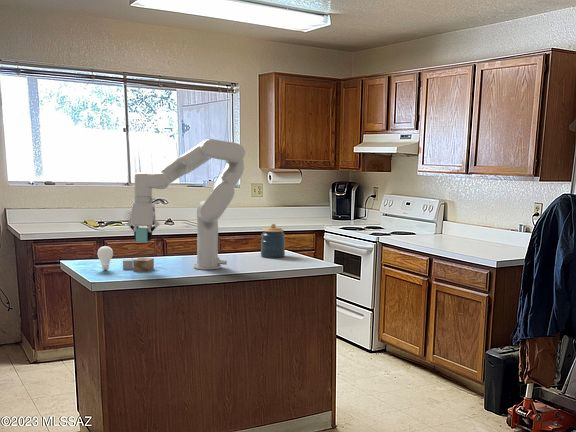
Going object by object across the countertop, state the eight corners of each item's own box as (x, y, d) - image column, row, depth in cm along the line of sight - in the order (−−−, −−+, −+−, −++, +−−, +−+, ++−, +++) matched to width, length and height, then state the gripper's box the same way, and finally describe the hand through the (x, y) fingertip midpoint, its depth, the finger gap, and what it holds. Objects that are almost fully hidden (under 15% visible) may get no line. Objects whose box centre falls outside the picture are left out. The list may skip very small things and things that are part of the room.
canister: (269, 259, 273) (270, 225, 272) (255, 255, 283) (256, 223, 282) (289, 257, 281) (290, 224, 279) (275, 253, 291) (276, 222, 290)
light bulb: (94, 270, 234) (94, 245, 233) (109, 268, 239) (108, 244, 238) (101, 272, 230) (101, 247, 229) (116, 270, 234) (115, 246, 233)
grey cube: (132, 267, 243) (132, 259, 242) (132, 269, 239) (132, 260, 239) (123, 267, 242) (123, 259, 242) (122, 269, 238) (122, 260, 238)
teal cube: (150, 241, 239) (150, 228, 239) (146, 242, 234) (146, 229, 234) (139, 240, 239) (139, 227, 239) (135, 242, 234) (135, 228, 234)
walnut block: (153, 269, 241) (153, 258, 241) (148, 271, 234) (148, 260, 234) (138, 268, 242) (138, 257, 241) (133, 271, 235) (133, 260, 234)
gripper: (164, 200, 238) (164, 240, 240) (127, 199, 239) (127, 238, 241) (159, 201, 231) (159, 242, 232) (121, 200, 232) (121, 241, 234)
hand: (143, 240), depth 237 cm, fingers closed on teal cube, 5 cm apart
